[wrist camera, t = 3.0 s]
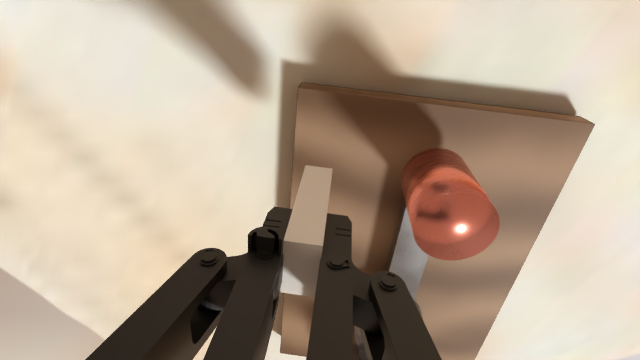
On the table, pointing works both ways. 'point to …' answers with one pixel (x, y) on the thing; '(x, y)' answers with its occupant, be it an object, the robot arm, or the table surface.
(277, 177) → the table surface
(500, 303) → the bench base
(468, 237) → the lever
